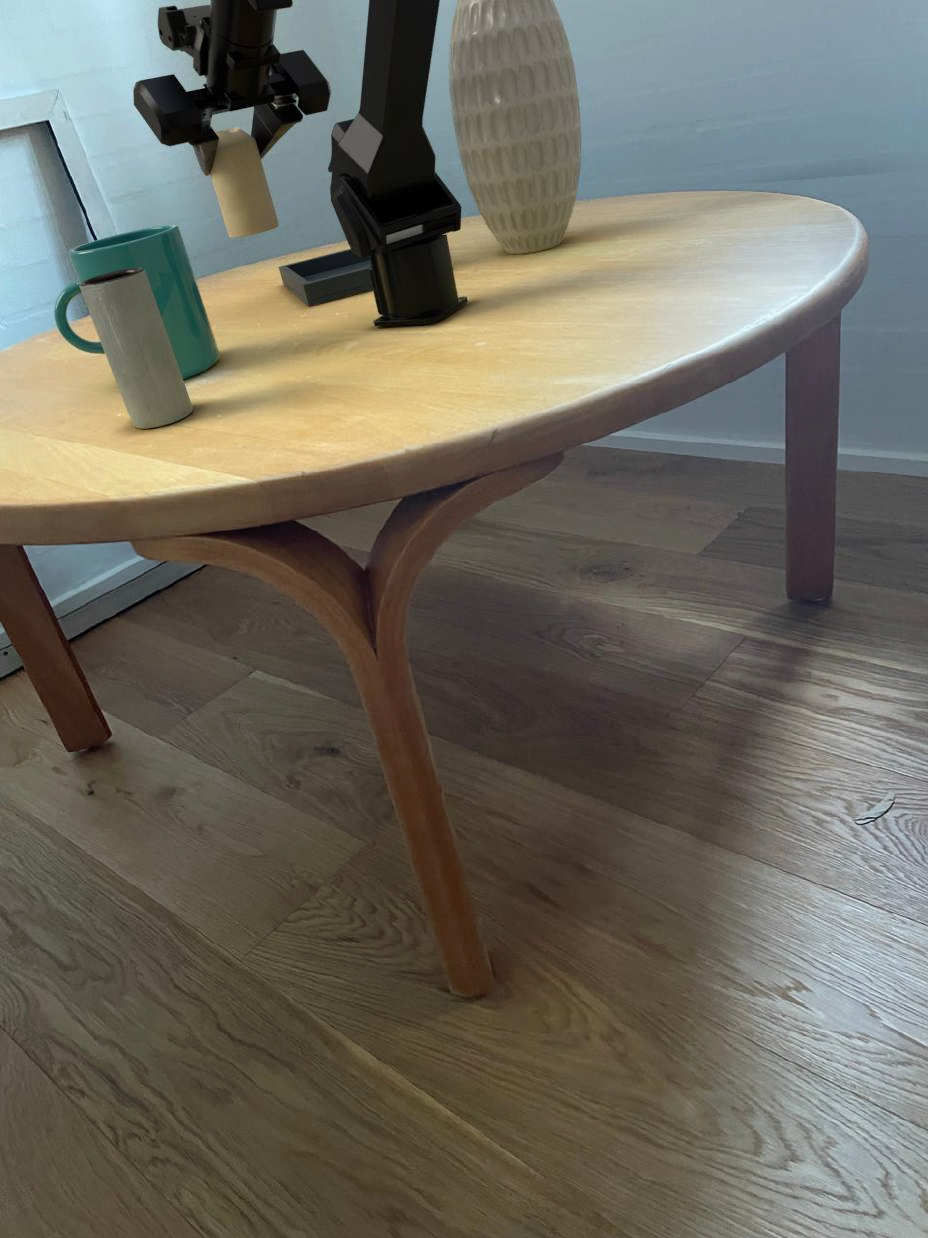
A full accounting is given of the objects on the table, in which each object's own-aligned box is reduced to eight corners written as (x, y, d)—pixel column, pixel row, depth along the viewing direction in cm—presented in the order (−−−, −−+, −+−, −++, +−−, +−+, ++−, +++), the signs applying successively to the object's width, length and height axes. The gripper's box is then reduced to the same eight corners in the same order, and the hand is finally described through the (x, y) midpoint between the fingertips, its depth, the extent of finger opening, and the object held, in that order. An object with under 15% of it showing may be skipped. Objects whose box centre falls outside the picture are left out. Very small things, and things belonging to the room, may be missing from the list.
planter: (140, 414, 70) (88, 276, 65) (198, 402, 70) (150, 263, 65) (126, 434, 66) (70, 288, 61) (187, 421, 66) (135, 274, 61)
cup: (88, 382, 83) (35, 253, 77) (217, 348, 85) (176, 220, 79) (82, 408, 75) (23, 266, 69) (225, 370, 77) (179, 229, 71)
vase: (598, 246, 93) (564, -99, 78) (475, 269, 94) (419, -65, 80) (586, 226, 104) (554, -80, 89) (476, 247, 105) (426, -51, 91)
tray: (441, 271, 97) (437, 250, 96) (308, 306, 94) (303, 284, 93) (400, 255, 110) (397, 236, 109) (283, 286, 107) (278, 266, 106)
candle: (259, 234, 95) (228, 127, 90) (219, 240, 98) (187, 137, 93) (289, 223, 99) (261, 120, 94) (249, 229, 102) (220, 129, 97)
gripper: (283, -48, 88) (266, 95, 102) (99, -24, 80) (107, 128, 93) (346, 33, 86) (320, 168, 100) (164, 66, 78) (163, 208, 91)
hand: (230, 166), depth 96 cm, fingers closed on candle, 5 cm apart
